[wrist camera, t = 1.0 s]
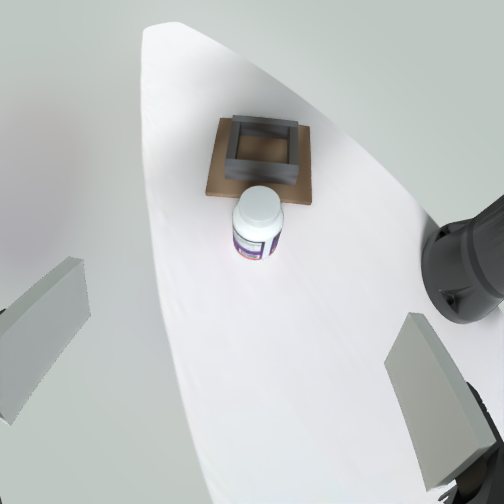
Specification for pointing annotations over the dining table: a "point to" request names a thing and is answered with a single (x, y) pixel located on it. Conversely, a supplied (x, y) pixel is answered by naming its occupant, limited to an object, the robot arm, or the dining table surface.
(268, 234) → the pill bottle
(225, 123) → the square framed tray
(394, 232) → the dining table surface
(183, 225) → the dining table surface
